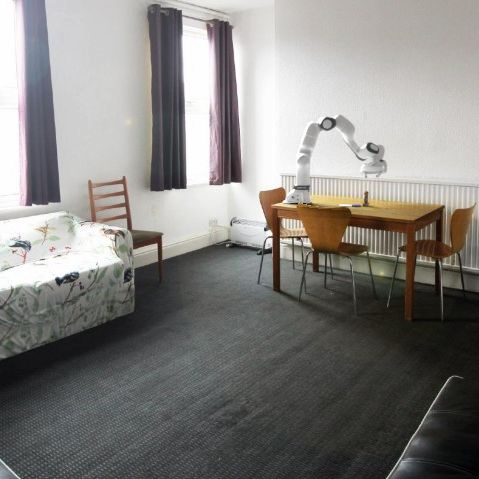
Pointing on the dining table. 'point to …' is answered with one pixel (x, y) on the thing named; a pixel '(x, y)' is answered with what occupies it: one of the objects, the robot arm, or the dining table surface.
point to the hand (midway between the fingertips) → (371, 177)
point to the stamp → (366, 199)
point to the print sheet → (345, 205)
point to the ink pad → (356, 205)
